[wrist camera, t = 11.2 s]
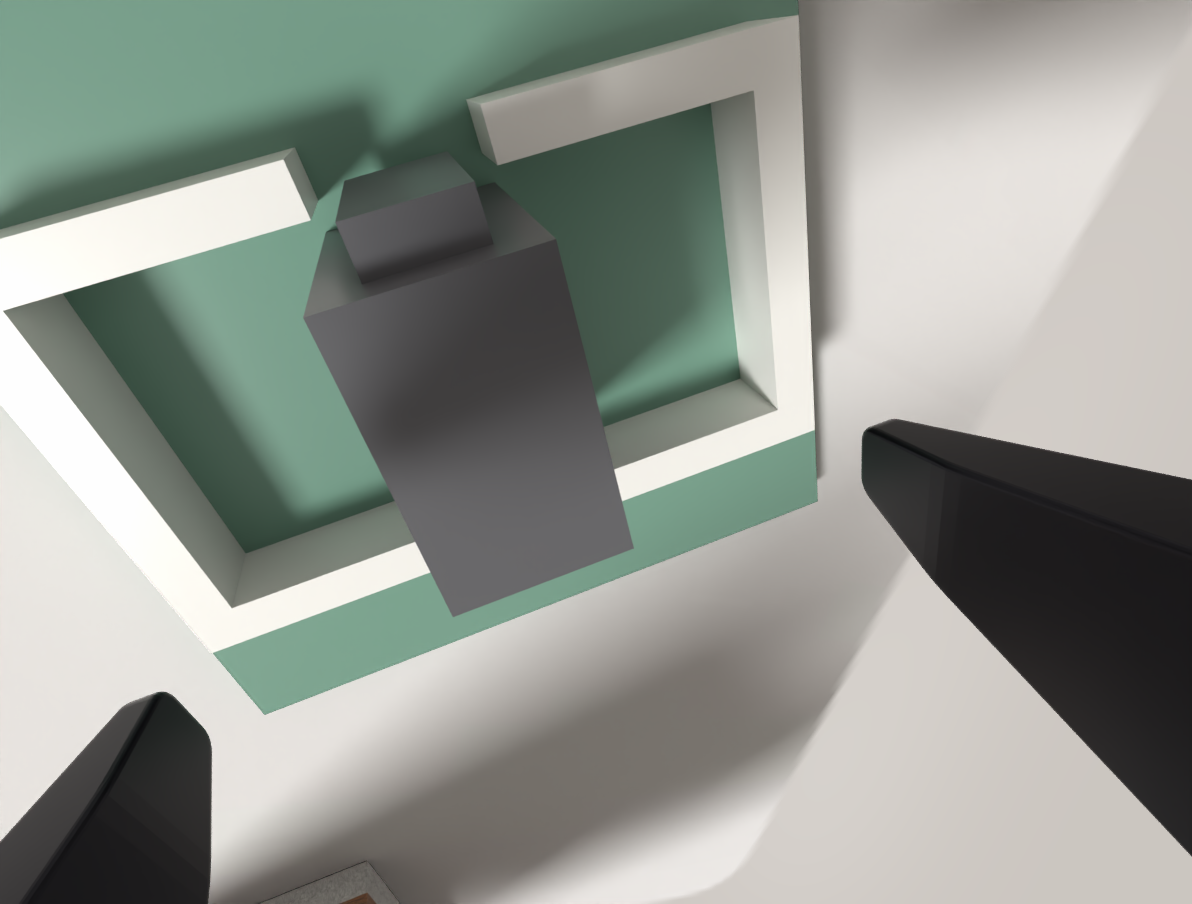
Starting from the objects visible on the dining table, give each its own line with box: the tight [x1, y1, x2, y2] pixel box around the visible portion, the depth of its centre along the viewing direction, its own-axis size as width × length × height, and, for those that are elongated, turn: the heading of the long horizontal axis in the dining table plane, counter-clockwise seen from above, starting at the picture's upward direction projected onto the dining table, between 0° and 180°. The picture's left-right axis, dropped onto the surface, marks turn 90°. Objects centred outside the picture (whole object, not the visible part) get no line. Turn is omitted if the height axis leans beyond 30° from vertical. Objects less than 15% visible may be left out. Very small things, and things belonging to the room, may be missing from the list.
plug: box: [303, 151, 634, 617], centre depth 13 cm, size 4×7×6 cm, turn 13°
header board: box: [0, 0, 818, 715], centre depth 15 cm, size 18×18×3 cm
